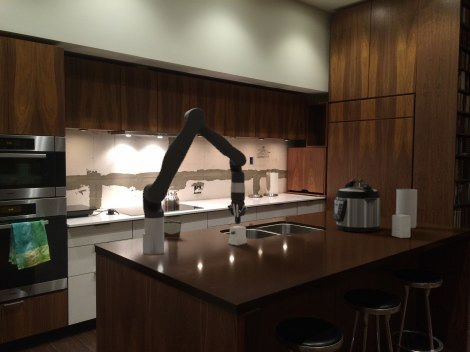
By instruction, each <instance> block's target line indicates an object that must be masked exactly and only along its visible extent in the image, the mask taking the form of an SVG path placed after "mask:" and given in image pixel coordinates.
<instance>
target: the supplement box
mask: <svg viewBox="0 0 470 352" xmlns="http://www.w3.org/2000/svg"><path fill="white" fill-rule="evenodd" d="M391 220H392V221H391V236H393V237H396V238H400V239H403V238H411V229H412V228H411V216H409V215H403V214H397V215H396V214H392V216H391Z"/></svg>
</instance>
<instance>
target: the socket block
mask: <svg viewBox="0 0 470 352" xmlns="http://www.w3.org/2000/svg"><path fill="white" fill-rule="evenodd" d="M247 238H248V237H246V238H245V239H241V240H235V239H230V237H229V238H228V245H229V244H230V246H234V245H235V247H238V246H239V247H240V246H242V245H246V243H247V244H248V239H247Z"/></svg>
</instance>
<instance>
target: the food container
mask: <svg viewBox="0 0 470 352" xmlns="http://www.w3.org/2000/svg"><path fill="white" fill-rule="evenodd" d="M182 224H183V222H182V219H179V218H168V219H167V218H166V219H165V218H164V239H180V238H181V231H182V230H181V229H182Z"/></svg>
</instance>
